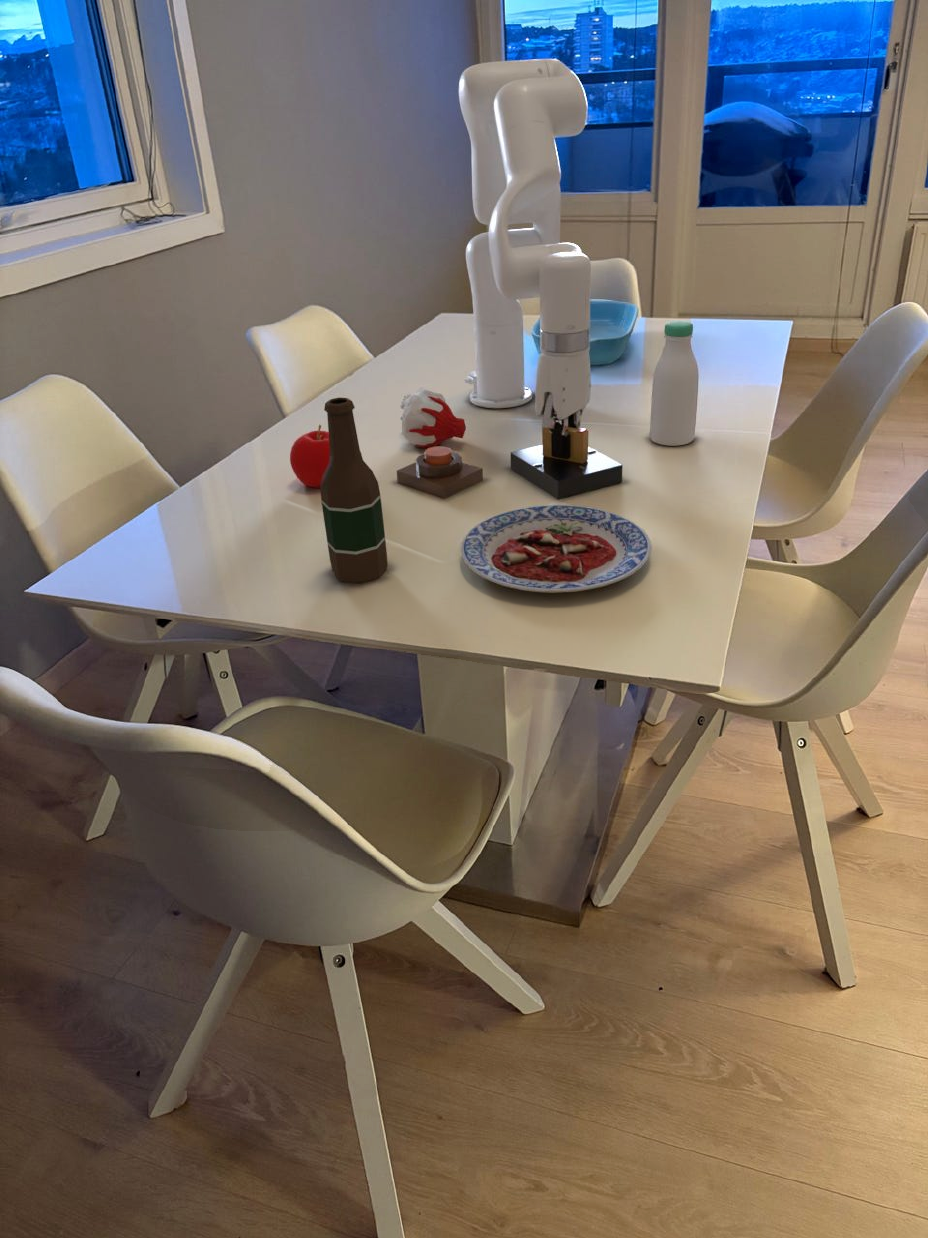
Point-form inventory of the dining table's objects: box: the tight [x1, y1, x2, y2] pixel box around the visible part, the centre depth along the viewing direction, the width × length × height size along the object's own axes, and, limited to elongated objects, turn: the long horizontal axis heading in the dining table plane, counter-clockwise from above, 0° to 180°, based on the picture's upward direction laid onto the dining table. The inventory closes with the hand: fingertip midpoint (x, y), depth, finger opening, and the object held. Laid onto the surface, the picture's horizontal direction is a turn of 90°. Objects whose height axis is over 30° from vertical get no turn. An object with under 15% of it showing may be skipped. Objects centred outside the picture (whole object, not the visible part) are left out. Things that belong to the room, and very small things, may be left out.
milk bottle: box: [649, 320, 700, 447], centre depth 161 cm, size 8×8×20 cm
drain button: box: [423, 445, 453, 465], centre depth 153 cm, size 4×4×2 cm
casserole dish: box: [530, 298, 639, 366], centre depth 217 cm, size 37×22×7 cm, turn 166°
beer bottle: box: [319, 397, 388, 584], centre depth 123 cm, size 8×8×24 cm
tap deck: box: [509, 444, 623, 500], centre depth 153 cm, size 15×12×3 cm
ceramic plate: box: [460, 504, 652, 594], centre depth 129 cm, size 26×26×3 cm
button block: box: [396, 451, 484, 499], centre depth 154 cm, size 11×9×4 cm
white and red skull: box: [400, 387, 467, 449], centre depth 168 cm, size 9×11×15 cm
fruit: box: [289, 424, 330, 489], centre depth 155 cm, size 9×9×10 cm
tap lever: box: [541, 426, 589, 464], centre depth 151 cm, size 8×2×5 cm, turn 55°
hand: (564, 453), depth 152 cm, fingers closed on tap lever, 2 cm apart
